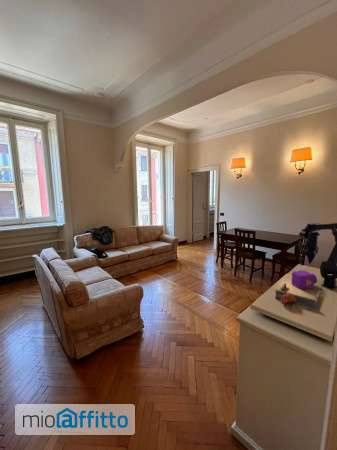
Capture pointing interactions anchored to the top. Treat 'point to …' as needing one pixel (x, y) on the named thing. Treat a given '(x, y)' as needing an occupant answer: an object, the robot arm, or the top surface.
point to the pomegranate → (288, 299)
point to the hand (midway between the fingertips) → (310, 261)
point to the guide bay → (299, 298)
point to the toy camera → (303, 279)
